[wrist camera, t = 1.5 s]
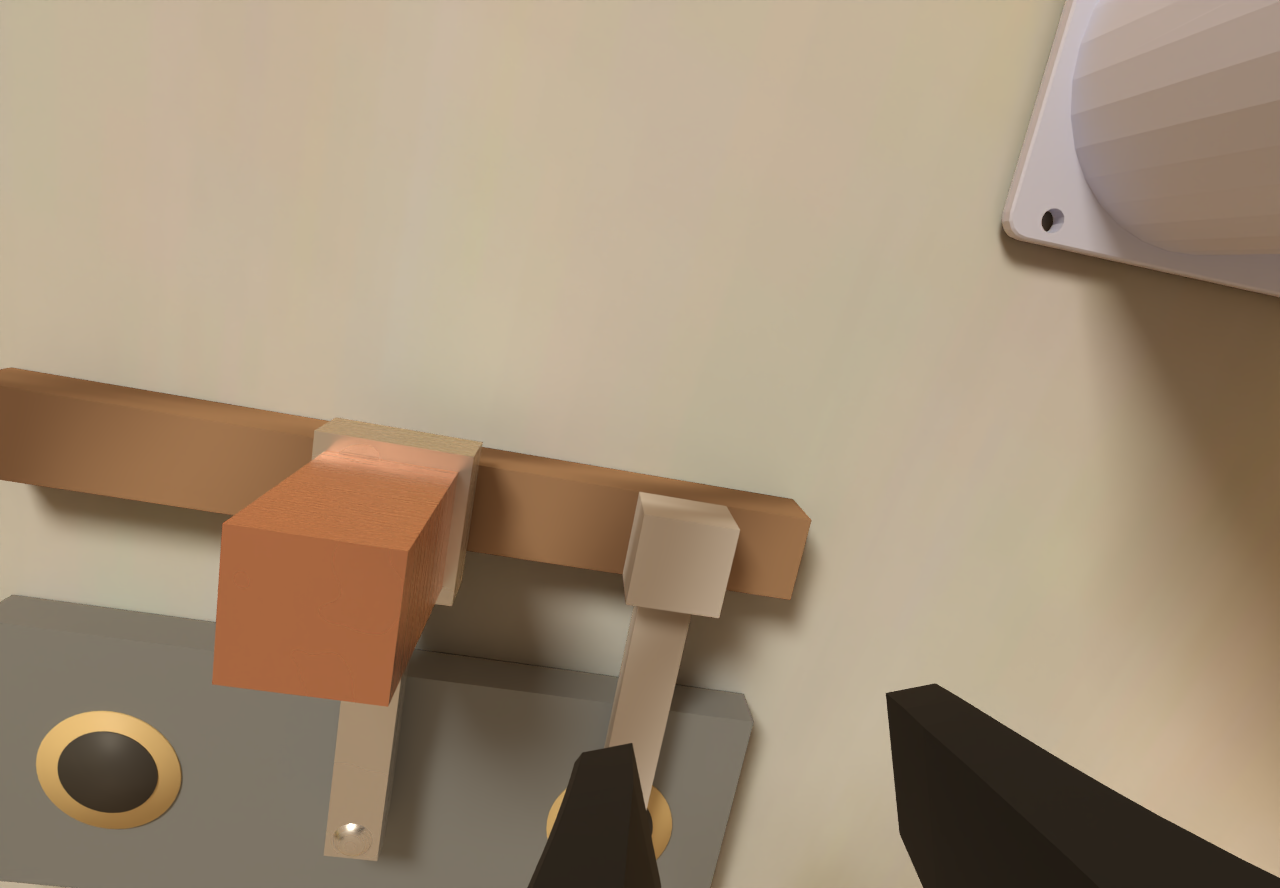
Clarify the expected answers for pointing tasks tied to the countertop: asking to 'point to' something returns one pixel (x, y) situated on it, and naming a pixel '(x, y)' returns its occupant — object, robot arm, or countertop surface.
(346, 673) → the orange handled lever
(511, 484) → the rail
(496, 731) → the bolt plate
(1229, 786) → the countertop surface
